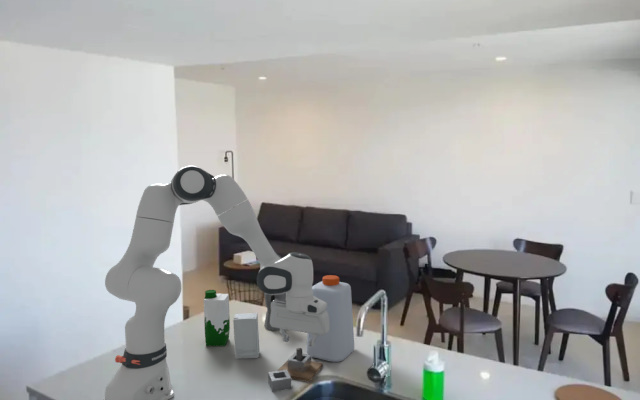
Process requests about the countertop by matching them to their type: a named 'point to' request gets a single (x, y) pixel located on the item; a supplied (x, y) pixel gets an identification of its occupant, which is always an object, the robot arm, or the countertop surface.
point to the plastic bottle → (334, 321)
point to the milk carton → (216, 318)
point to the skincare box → (246, 335)
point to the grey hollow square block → (299, 363)
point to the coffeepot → (268, 300)
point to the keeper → (298, 375)
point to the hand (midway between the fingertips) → (298, 343)
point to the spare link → (279, 380)
